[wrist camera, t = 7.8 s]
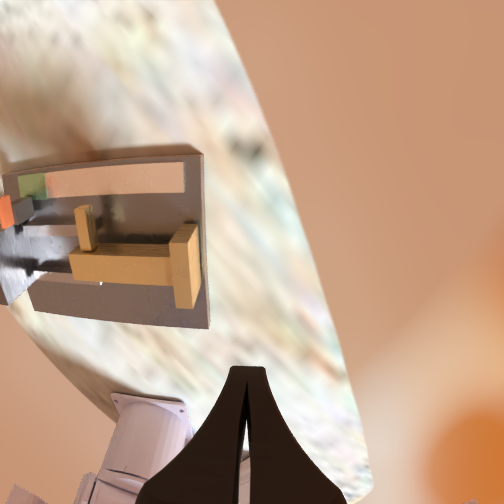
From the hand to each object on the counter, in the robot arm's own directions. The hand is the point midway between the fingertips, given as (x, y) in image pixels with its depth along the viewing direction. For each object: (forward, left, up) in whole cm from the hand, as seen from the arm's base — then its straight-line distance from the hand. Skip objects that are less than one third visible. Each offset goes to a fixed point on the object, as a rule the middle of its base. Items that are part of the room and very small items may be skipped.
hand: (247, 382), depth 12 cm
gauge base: (+2, +11, -10) cm, 15 cm away
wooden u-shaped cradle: (+3, +7, -8) cm, 11 cm away
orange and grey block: (+6, +16, -8) cm, 19 cm away
